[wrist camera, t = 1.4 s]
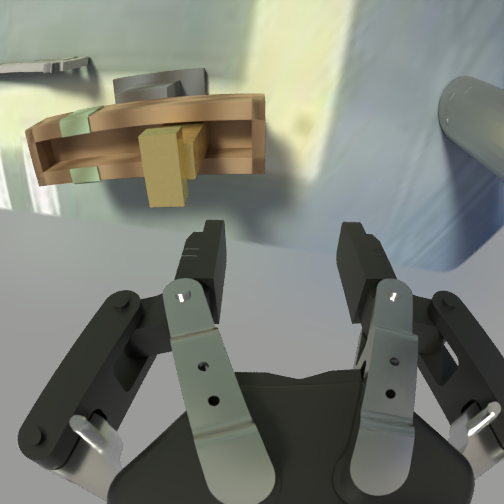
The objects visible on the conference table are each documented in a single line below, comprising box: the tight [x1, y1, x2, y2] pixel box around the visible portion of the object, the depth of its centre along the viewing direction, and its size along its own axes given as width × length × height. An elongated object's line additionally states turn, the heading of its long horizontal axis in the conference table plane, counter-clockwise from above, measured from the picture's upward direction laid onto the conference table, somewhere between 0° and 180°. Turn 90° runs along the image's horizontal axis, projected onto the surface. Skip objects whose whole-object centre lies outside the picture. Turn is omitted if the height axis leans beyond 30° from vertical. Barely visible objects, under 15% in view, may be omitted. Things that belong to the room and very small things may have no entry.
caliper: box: [0, 57, 89, 73], centre depth 24 cm, size 20×1×6 cm, turn 78°
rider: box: [138, 121, 210, 207], centre depth 23 cm, size 4×5×9 cm
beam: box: [25, 68, 265, 186], centre depth 28 cm, size 22×10×10 cm, turn 90°
